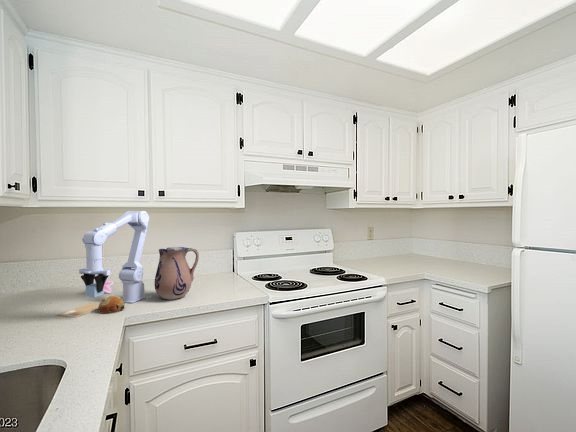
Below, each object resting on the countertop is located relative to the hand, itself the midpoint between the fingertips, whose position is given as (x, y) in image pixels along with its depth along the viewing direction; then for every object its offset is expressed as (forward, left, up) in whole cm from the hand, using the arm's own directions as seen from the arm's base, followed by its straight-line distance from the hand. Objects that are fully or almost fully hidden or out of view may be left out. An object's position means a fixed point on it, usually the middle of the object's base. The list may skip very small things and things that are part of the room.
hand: (95, 291), depth 128 cm
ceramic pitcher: (-31, +19, -10) cm, 37 cm away
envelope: (-3, -9, -10) cm, 14 cm away
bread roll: (-6, +3, -10) cm, 12 cm away
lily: (-26, -24, -10) cm, 37 cm away
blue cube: (0, 0, -2) cm, 2 cm away
